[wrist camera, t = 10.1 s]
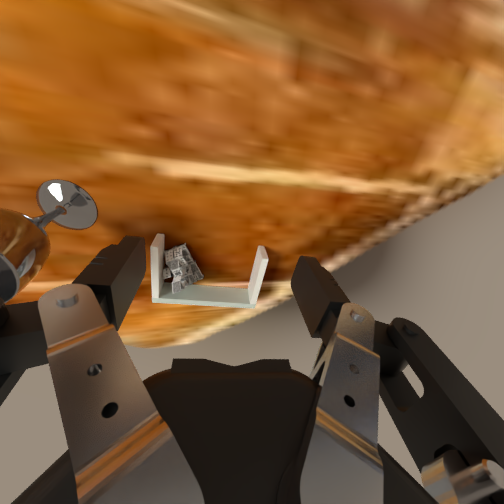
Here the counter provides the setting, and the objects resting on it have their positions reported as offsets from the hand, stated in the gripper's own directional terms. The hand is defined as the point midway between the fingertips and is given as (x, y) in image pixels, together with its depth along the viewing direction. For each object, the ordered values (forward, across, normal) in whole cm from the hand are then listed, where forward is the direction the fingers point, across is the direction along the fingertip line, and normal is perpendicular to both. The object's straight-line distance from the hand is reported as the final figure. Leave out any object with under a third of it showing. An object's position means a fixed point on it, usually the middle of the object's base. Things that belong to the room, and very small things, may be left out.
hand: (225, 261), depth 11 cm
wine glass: (+22, +20, +8) cm, 31 cm away
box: (+22, 0, +16) cm, 27 cm away
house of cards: (+22, +7, +16) cm, 29 cm away
